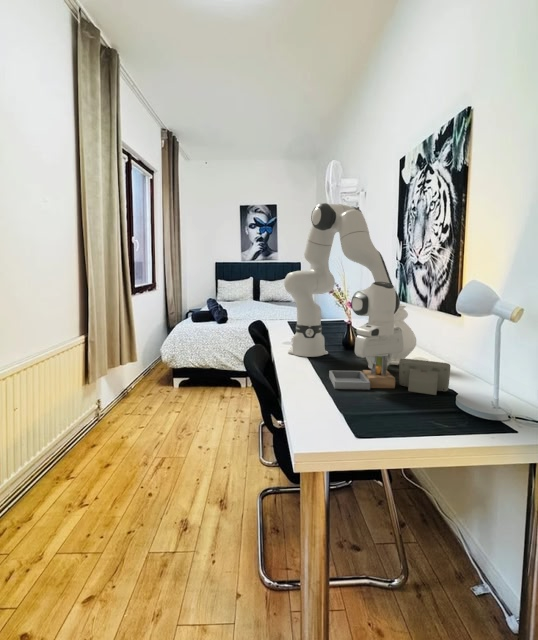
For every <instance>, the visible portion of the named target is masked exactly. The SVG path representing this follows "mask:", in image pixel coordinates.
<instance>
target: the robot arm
mask: <svg viewBox="0 0 538 640" xmlns="http://www.w3.org/2000/svg"><path fill="white" fill-rule="evenodd" d="M310 216H311V217H310V218H311V219H310V220H311V227H310V230H309V232H308V236H307V241H306V245H305V249H304V252H303V253H304V254H303V255H304V259H305V261H306V262H308V263H309V264H310V269H309V270H296V271H292V272H291V271H290V272H289V273H287V274H286V276H285V278H284V283H283V284H284V288H285V290H286V292H287V293H289V294H290V296H291V297H292V298H293V300H294V302H295V305H296V306H295V307H296V324H295V331H296V332H295V334H293V336H292V337H291V339H290V340H291V341H290V342H291V347H290V349H288V351H287V353H288V354H290V355H294V356H298V357H306V358H307V357H308V358H309V357H311V358H315V357H321V356H324V355H328V354H329V351H327V349H325V336H324V335H323V334H322V330H323V328H322V324H321V321H322V308H321V306H320V305H319V304H318V303H316V302H315V301H314V298H313V297H314V296H313V295H325V294H326V293H331V291H333V289H334V288H335V285H336V279H335V277H334V275H333V273H331V271H330V266H329V261H330V256H331V251H332V247H333V242H334V238H335V235H336V234H337V233H338V234H339V239H340V245H341V251H342V253H343V255H344V256H345V257H346V258H347V259H349V260H350V261H352V262H353V263H356V264H359V265H361V266H363V267H364V268H367V269H368V270H369V271H370V272H371V275H372V276H373V279H374V282H372V283H371V285H370V286H368V287H366V288H364V289H362V290H357V291H356V292H355V293H354V294H353V295H352V297H351V302H350V304H351V305H350V306H351V309H352V311H353V313H354V314H355V315H356V316H360V317H368V319H367V320H368V322H366V323H364V324H362V325H361V326H359V327H357V328H356V334H357V336H356V337H355V342H354V354H355V355H356V356H357V357H359V358H363V359H364V358H365V359H366V362H367V366H368V369H370V370H371V369H372V368H375V363H373V361H372V359H373V356H378V355H382V354H388V356H387V366H388V367H389V366H390V364H389V362H390V360H391V358H392V354H393V353H400V352H402V350H403V336H402V330H401V329H400V328H399V327H394V323H395V319H394V314H395V313H396V311H397V310H398V308H399V306H400V304H401V300H400V297H399V294H398V293H397V291H396V287H395V285H393V282H392V279H391V276H390V274H389V273H390V272H389V271H388V269H387V264H386V262H385V261H384V257H383V255H382V254H381V252H380V251H379V250H377V248H376V247H375V244H374V243H373V241H372V239H371V236H370V231H369V227H368V224H367V221H366V218H365V216H364V214H363V212H362V210H361V209H360V208H358V207H356V206H354V205H353V206H352V205H351V206H350V205H346V204H341V203H338V204H337V203H336V204H335V203H326V202H325V203H318V204H317V205H316V206H314V208H313V210H312V212H311V215H310ZM399 329H400V330H399Z"/></svg>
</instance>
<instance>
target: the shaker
mask: <svg viewBox="0 0 538 640" xmlns="http://www.w3.org/2000/svg"><path fill="white" fill-rule="evenodd" d="M387 356H388V354H382V355H378V356H373V359H372V361H373V363H375V368H372V369H371V368H370V370H371V375H374V376H376V360H377V357H382V365H381V367H382V369H381V376H386V369H387V370H388V367H387Z"/></svg>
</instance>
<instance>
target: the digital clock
mask: <svg viewBox="0 0 538 640" xmlns="http://www.w3.org/2000/svg"><path fill="white" fill-rule="evenodd" d="M398 368H399V370H398V373H399V374H398V384H399V385H400V386H403V387H407V388H408V389H407V391H408V392H411V393H412V392H413V393H418V394H425V395H432V396H437V392H447V391H448V390H449V387H450V377H451V364H450V363H447V362H443V361H442V362H440V361H435V360H434V361H432V360H431V361H430V360H422V359H413V358H405V359H400V363H399V365H398Z"/></svg>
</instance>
